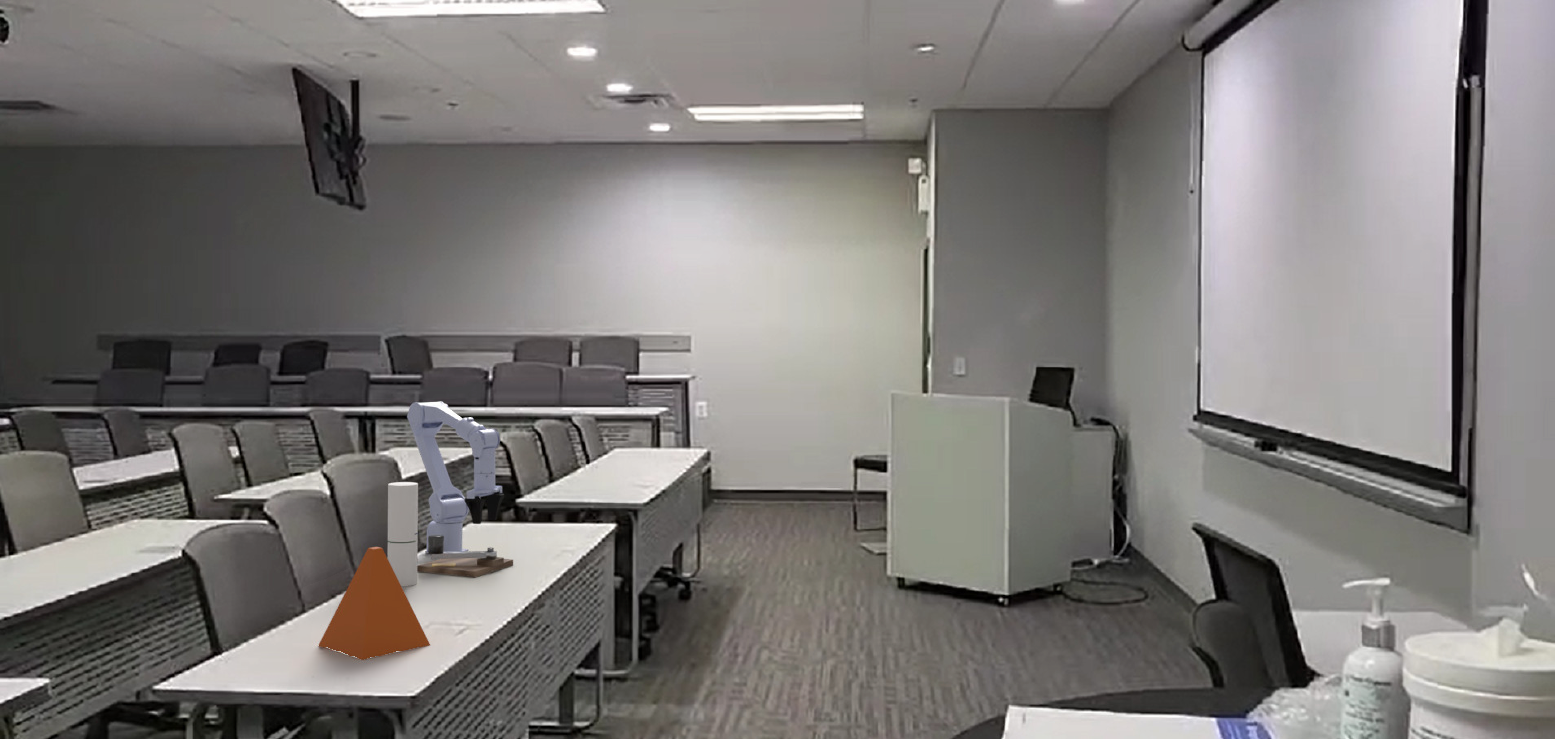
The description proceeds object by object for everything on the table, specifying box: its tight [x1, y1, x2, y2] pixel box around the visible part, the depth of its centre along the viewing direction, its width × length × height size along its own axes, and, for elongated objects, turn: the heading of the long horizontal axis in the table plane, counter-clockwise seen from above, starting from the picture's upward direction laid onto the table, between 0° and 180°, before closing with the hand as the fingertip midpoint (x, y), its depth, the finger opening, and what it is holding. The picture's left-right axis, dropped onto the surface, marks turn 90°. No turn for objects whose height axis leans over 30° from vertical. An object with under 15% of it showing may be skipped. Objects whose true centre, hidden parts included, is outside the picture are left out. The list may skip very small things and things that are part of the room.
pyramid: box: [318, 546, 431, 661], centre depth 252 cm, size 16×16×20 cm
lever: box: [427, 535, 498, 560], centre depth 329 cm, size 18×4×6 cm, turn 102°
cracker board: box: [417, 556, 514, 578], centre depth 332 cm, size 18×18×3 cm
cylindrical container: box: [387, 481, 419, 587], centre depth 311 cm, size 7×7×25 cm
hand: (484, 521), depth 345 cm, fingers open, 7 cm apart
